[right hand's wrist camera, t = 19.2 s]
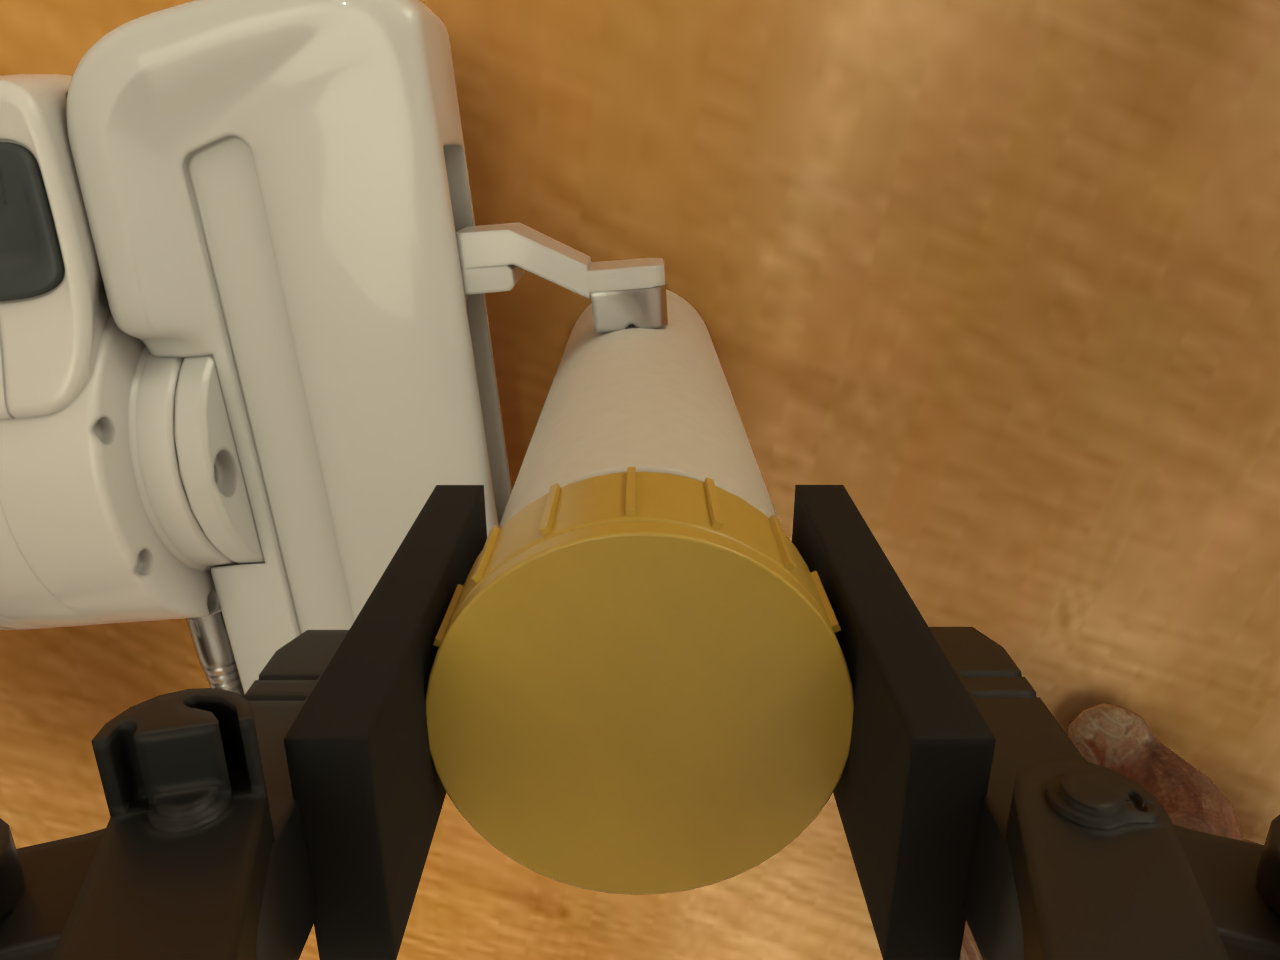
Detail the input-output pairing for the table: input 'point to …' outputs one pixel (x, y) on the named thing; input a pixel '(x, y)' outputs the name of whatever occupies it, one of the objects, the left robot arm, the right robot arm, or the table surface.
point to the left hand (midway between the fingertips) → (674, 408)
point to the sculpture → (1144, 777)
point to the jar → (640, 412)
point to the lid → (639, 687)
